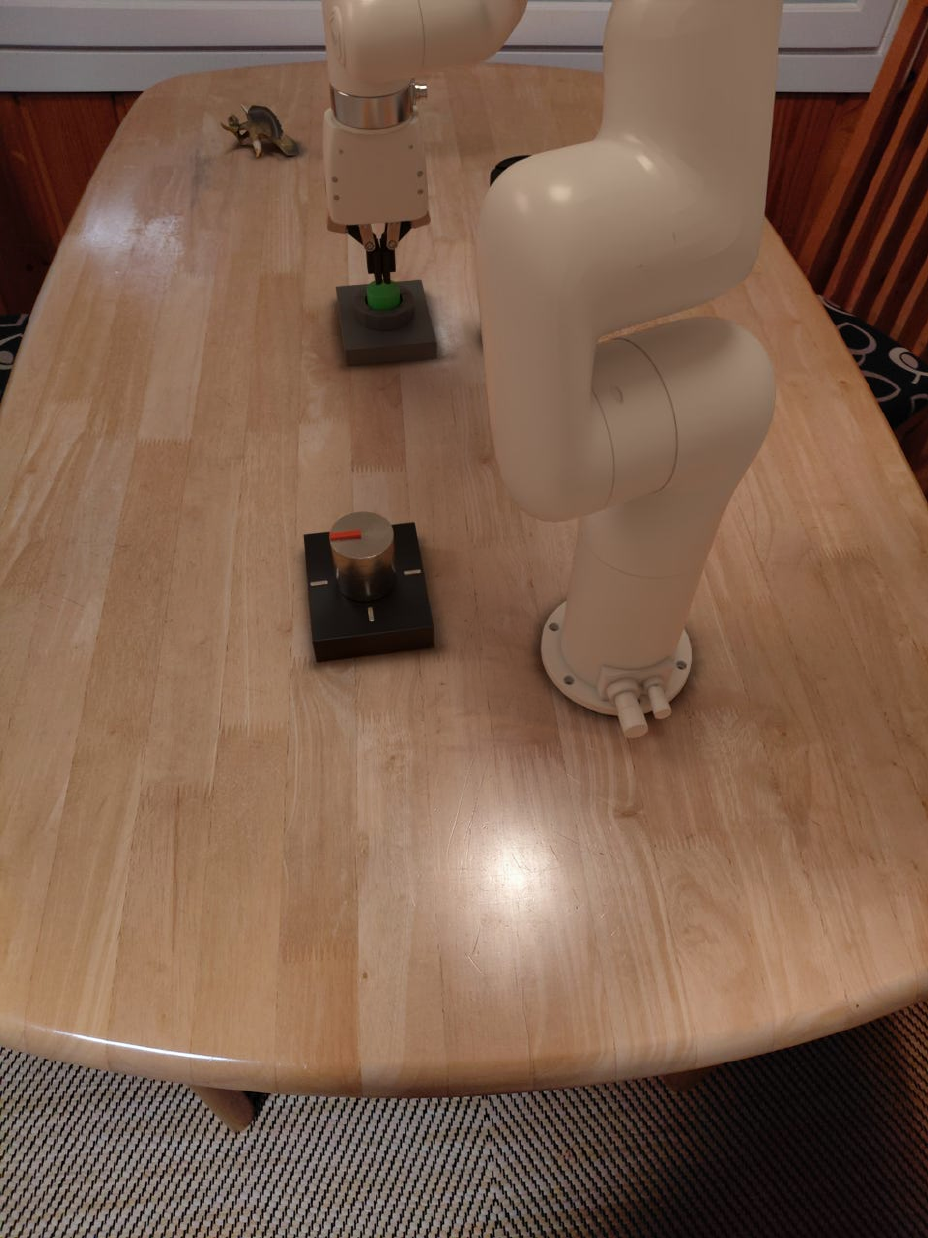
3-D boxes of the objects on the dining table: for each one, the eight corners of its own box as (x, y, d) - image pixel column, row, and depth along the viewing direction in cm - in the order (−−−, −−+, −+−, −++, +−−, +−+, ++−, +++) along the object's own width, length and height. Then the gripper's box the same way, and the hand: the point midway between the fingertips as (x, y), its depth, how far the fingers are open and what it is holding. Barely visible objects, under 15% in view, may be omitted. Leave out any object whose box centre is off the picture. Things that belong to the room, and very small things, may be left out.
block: (436, 358, 103) (436, 327, 100) (346, 366, 102) (343, 335, 99) (421, 295, 110) (421, 265, 107) (337, 302, 109) (334, 272, 106)
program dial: (392, 552, 81) (389, 505, 77) (400, 597, 78) (397, 552, 74) (333, 559, 81) (326, 512, 76) (338, 605, 78) (331, 559, 73)
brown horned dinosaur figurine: (222, 155, 128) (283, 149, 125) (216, 97, 125) (277, 90, 123) (248, 163, 135) (305, 158, 132) (242, 108, 132) (300, 101, 130)
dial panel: (434, 647, 79) (434, 625, 77) (316, 662, 78) (312, 640, 75) (415, 543, 86) (414, 520, 84) (307, 556, 85) (303, 532, 83)
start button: (402, 310, 102) (401, 296, 101) (369, 312, 102) (368, 298, 101) (398, 291, 104) (397, 277, 103) (366, 293, 104) (365, 279, 103)
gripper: (444, 77, 89) (444, 253, 104) (288, 86, 88) (310, 263, 102) (457, 114, 85) (455, 291, 100) (292, 124, 83) (315, 303, 98)
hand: (381, 277), depth 101 cm, fingers closed
